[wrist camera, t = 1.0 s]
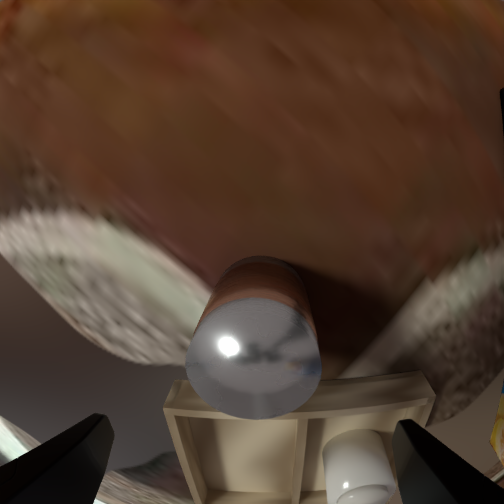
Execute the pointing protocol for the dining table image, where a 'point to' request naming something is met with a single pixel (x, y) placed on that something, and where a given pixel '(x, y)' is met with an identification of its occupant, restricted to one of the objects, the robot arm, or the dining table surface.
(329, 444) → the jar
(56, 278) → the dining table surface
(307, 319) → the can
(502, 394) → the blue food box
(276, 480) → the beige wooden tray
